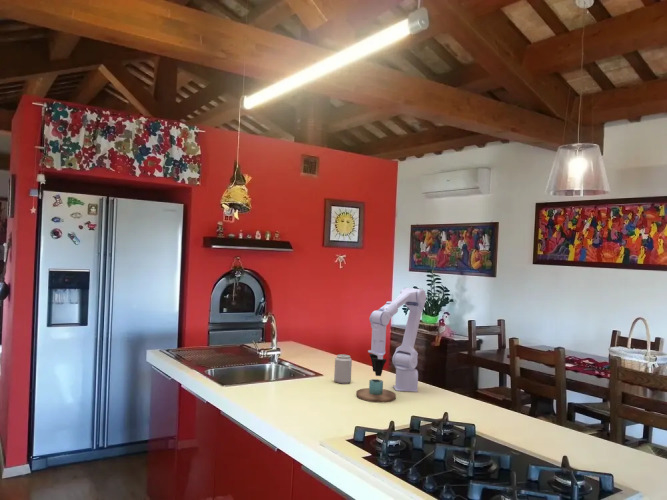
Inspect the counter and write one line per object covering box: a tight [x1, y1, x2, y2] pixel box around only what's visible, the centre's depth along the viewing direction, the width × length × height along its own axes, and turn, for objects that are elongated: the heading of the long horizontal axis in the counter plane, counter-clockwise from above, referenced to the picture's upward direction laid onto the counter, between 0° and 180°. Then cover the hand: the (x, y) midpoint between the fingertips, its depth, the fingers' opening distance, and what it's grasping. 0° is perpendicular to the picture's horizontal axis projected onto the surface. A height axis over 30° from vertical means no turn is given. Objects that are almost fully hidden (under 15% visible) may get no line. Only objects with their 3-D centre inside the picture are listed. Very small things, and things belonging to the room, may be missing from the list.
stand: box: [355, 387, 397, 403], centre depth 218 cm, size 16×16×6 cm
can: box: [333, 354, 353, 385], centre depth 240 cm, size 8×8×12 cm
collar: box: [368, 378, 384, 395], centre depth 218 cm, size 5×5×5 cm
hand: (376, 373), depth 218 cm, fingers open, 7 cm apart
